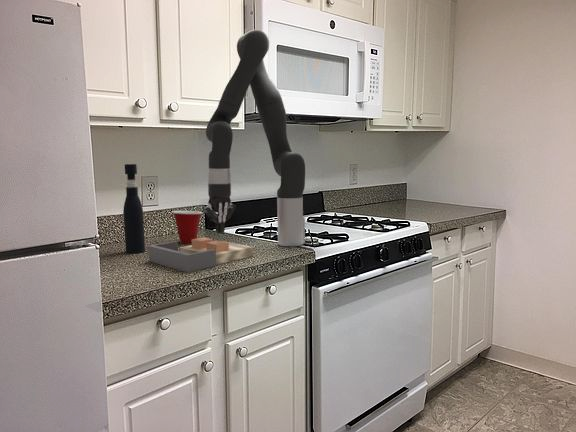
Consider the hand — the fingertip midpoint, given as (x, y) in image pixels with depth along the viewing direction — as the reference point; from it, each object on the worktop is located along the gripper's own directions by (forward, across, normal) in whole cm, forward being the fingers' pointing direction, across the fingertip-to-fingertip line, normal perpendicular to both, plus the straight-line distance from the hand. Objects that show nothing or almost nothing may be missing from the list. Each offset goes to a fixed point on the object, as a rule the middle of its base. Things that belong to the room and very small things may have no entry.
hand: (220, 233), depth 166 cm
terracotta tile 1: (+4, +8, 0) cm, 8 cm away
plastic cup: (+7, -3, -23) cm, 24 cm away
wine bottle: (+7, +19, -23) cm, 30 cm away
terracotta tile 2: (+4, +8, +8) cm, 12 cm away
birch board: (+6, +5, +4) cm, 9 cm away
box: (+7, +18, +4) cm, 20 cm away
